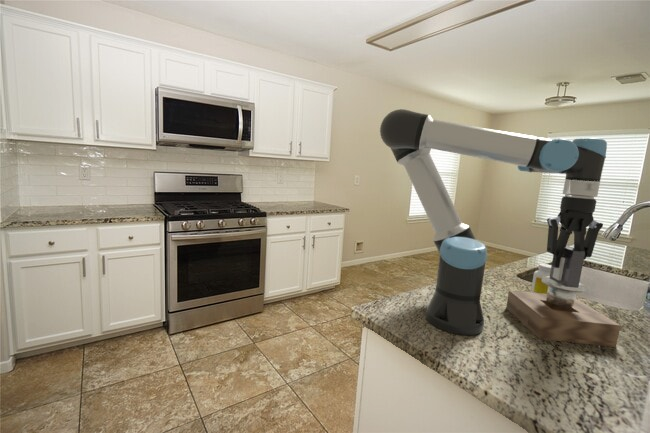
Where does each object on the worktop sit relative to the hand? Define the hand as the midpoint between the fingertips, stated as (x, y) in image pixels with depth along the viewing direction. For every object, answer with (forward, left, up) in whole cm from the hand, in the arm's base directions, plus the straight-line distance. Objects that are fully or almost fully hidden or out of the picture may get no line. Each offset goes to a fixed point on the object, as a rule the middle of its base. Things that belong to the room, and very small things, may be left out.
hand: (563, 279), depth 92 cm
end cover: (0, 0, -7) cm, 7 cm away
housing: (0, 0, -14) cm, 14 cm away
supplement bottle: (+6, +19, -14) cm, 24 cm away
